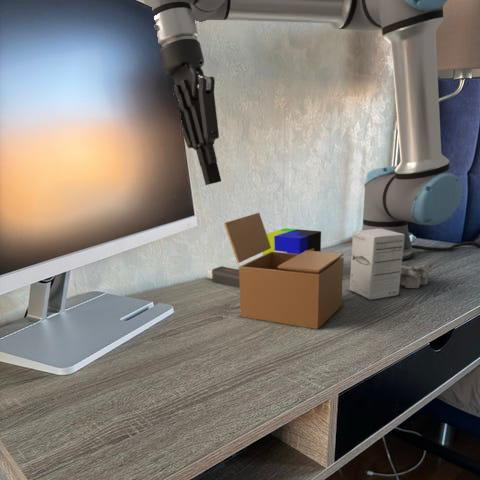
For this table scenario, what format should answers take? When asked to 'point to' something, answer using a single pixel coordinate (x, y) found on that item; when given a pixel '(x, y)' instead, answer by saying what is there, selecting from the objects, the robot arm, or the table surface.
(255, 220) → the flap
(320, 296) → the carton
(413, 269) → the egg carton
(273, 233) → the puzzle toy
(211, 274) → the usb drive
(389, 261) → the white packaging box
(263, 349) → the table surface
